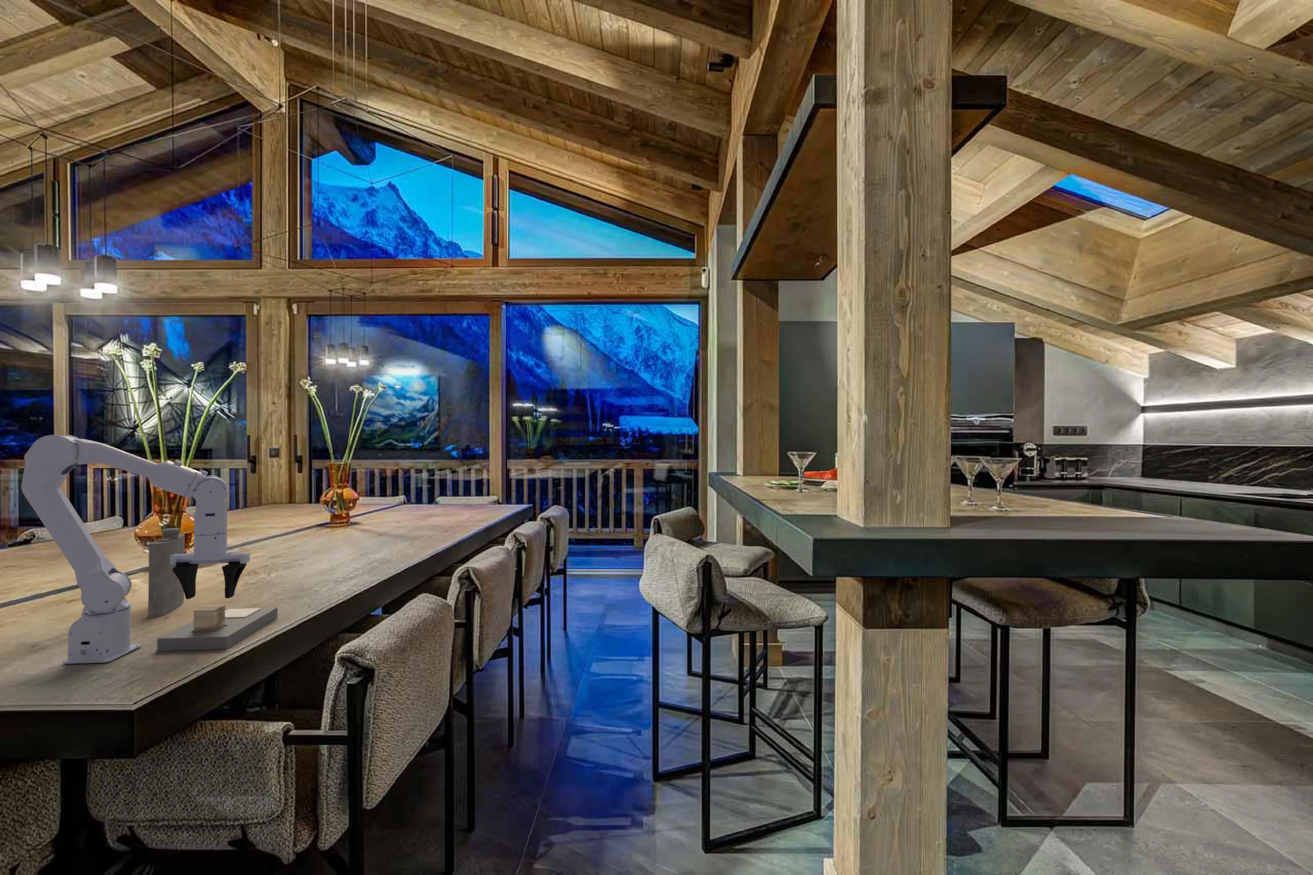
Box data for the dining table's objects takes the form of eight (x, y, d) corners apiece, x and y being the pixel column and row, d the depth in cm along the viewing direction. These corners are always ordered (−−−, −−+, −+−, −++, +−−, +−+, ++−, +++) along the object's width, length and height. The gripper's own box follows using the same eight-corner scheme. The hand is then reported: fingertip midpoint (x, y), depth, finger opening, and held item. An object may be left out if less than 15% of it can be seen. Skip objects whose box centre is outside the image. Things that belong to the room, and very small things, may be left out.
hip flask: (171, 601, 163) (171, 524, 163) (189, 599, 164) (190, 523, 164) (145, 618, 148) (146, 533, 148) (166, 616, 149) (167, 532, 149)
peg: (214, 643, 131) (214, 609, 131) (193, 643, 130) (193, 610, 130) (224, 637, 135) (225, 604, 135) (204, 637, 134) (204, 605, 134)
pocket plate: (227, 648, 127) (227, 635, 127) (157, 650, 126) (157, 637, 126) (277, 617, 149) (277, 606, 149) (218, 619, 147) (218, 607, 147)
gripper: (256, 530, 137) (256, 592, 137) (184, 530, 136) (184, 593, 136) (240, 535, 130) (239, 600, 130) (163, 536, 129) (163, 602, 129)
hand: (210, 597), depth 133 cm, fingers open, 7 cm apart
